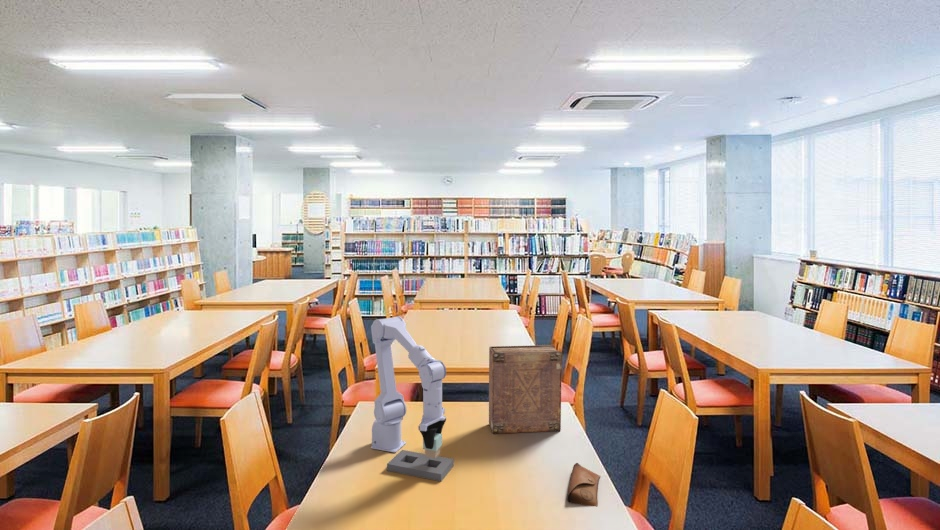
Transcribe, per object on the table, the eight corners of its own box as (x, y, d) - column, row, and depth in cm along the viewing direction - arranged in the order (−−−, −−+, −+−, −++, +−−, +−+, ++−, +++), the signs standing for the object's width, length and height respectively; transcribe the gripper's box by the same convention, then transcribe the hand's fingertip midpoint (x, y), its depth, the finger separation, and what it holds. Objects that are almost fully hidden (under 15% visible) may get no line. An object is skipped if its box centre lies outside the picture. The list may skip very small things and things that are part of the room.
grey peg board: (387, 470, 150) (387, 463, 150) (402, 456, 159) (402, 449, 159) (441, 481, 144) (441, 474, 144) (453, 465, 153) (453, 459, 153)
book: (553, 421, 188) (555, 344, 186) (560, 431, 179) (562, 351, 177) (488, 424, 185) (489, 346, 183) (492, 434, 176) (493, 352, 174)
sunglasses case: (599, 507, 131) (587, 485, 131) (576, 516, 133) (563, 494, 133) (601, 474, 148) (589, 455, 149) (580, 483, 150) (569, 463, 151)
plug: (423, 456, 148) (422, 437, 148) (429, 450, 152) (429, 431, 152) (436, 459, 147) (436, 439, 146) (442, 452, 151) (442, 434, 150)
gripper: (435, 411, 140) (435, 457, 141) (453, 395, 154) (453, 437, 155) (412, 408, 142) (413, 453, 144) (433, 392, 156) (433, 433, 157)
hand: (432, 444), depth 149 cm, fingers closed on plug, 4 cm apart
